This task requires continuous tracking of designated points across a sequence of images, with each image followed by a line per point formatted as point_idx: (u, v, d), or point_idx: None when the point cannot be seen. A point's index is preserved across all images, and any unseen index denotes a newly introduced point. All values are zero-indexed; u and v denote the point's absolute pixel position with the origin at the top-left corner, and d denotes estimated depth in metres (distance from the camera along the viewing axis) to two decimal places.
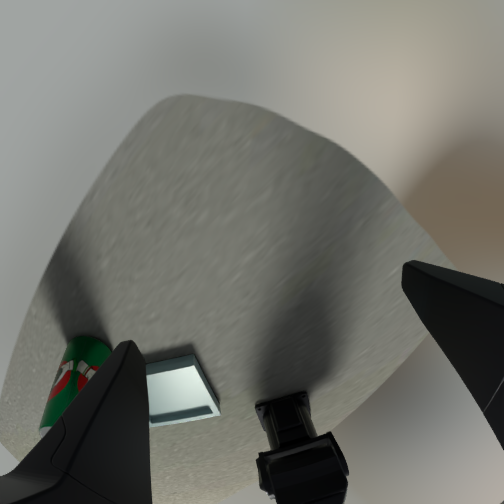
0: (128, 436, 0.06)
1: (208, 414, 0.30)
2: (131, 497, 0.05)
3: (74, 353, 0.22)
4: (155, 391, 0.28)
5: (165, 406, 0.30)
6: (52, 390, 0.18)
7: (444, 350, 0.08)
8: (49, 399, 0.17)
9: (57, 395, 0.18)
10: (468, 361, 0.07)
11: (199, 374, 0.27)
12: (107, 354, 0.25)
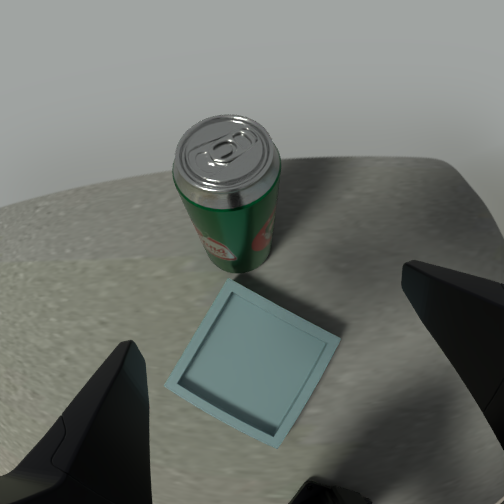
0: (128, 436, 0.06)
1: (265, 434, 0.18)
2: (131, 497, 0.05)
3: None
4: (245, 345, 0.21)
5: (224, 380, 0.20)
6: None
7: (444, 350, 0.08)
8: None
9: None
10: (468, 361, 0.07)
11: None
12: (270, 248, 0.22)
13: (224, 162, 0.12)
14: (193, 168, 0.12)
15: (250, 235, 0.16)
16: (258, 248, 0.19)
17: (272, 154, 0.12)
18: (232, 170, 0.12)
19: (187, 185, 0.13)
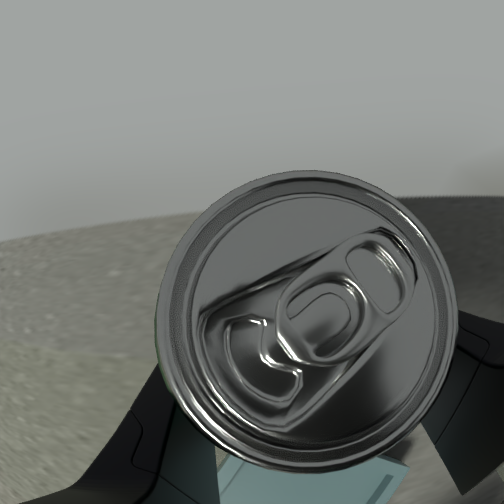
0: None
1: None
2: (206, 492, 0.05)
3: None
4: (284, 486, 0.12)
5: None
6: None
7: None
8: None
9: None
10: None
11: None
12: None
13: (327, 365, 0.04)
14: (223, 392, 0.03)
15: None
16: None
17: (456, 328, 0.04)
18: (356, 402, 0.03)
19: None
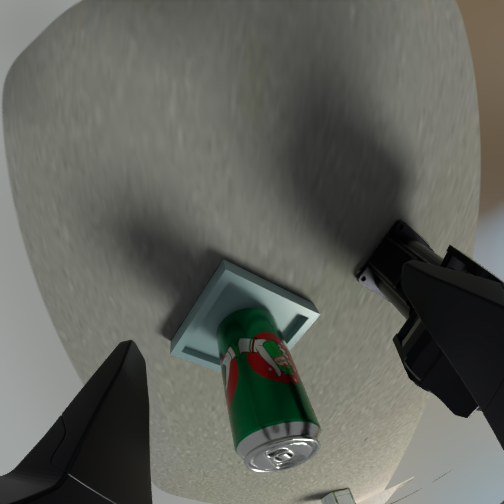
0: (128, 436, 0.06)
1: (305, 323, 0.24)
2: (131, 497, 0.05)
3: (227, 339, 0.21)
4: None
5: None
6: (227, 395, 0.17)
7: (444, 350, 0.08)
8: (229, 407, 0.17)
9: (234, 395, 0.16)
10: (468, 361, 0.07)
11: (244, 277, 0.22)
12: (264, 315, 0.22)
13: (293, 453, 0.14)
14: (295, 462, 0.15)
15: None
16: (288, 352, 0.20)
17: (296, 439, 0.13)
18: (304, 451, 0.14)
19: None
